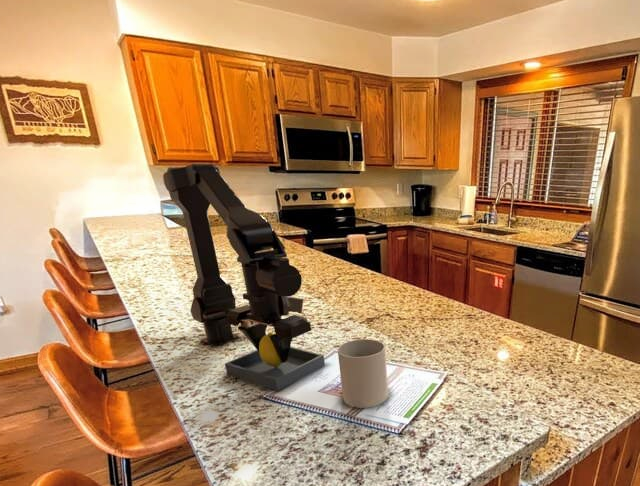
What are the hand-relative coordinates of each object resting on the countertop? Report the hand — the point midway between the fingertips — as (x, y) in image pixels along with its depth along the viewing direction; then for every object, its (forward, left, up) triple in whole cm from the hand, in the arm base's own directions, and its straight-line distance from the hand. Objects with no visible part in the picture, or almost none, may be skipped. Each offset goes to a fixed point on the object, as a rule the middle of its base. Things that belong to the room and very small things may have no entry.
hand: (274, 358), depth 90 cm
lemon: (0, 0, -2) cm, 2 cm away
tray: (0, 0, -3) cm, 3 cm away
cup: (+24, 0, -3) cm, 24 cm away
